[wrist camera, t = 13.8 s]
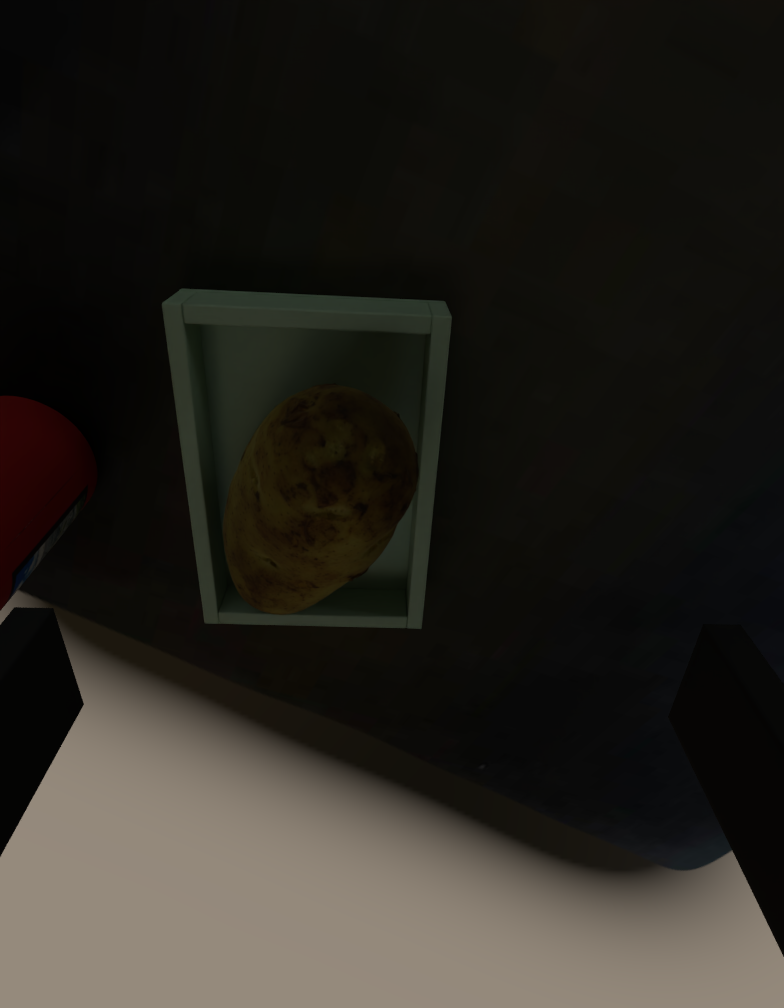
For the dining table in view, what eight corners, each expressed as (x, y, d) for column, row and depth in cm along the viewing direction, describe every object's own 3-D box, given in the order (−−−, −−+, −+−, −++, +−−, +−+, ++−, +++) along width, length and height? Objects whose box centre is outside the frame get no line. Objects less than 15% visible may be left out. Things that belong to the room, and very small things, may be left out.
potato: (166, 497, 31) (107, 596, 25) (340, 319, 27) (328, 379, 20) (288, 589, 35) (267, 699, 28) (462, 442, 30) (488, 530, 23)
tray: (445, 300, 27) (452, 316, 25) (418, 595, 36) (421, 629, 33) (181, 288, 27) (160, 302, 24) (216, 589, 35) (204, 624, 33)
